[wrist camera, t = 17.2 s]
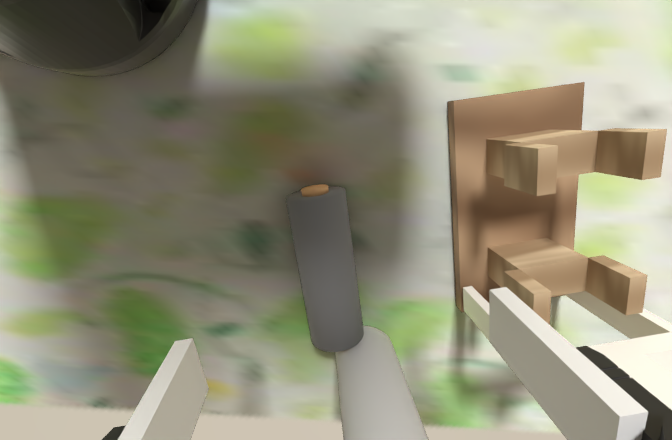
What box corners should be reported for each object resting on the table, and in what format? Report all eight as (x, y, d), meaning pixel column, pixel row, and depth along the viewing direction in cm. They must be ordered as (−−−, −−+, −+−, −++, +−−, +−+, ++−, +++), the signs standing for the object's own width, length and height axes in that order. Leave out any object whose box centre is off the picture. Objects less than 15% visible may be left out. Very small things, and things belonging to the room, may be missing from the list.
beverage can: (353, 380, 29) (382, 547, 18) (322, 341, 28) (332, 494, 16) (401, 352, 29) (463, 504, 17) (372, 310, 28) (418, 446, 16)
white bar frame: (462, 287, 26) (589, 421, 14) (573, 269, 27) (785, 386, 15) (463, 310, 27) (586, 457, 15) (571, 292, 27) (774, 422, 15)
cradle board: (447, 101, 23) (515, 91, 16) (573, 83, 24) (699, 65, 16) (456, 305, 28) (511, 375, 20) (561, 288, 28) (655, 349, 21)
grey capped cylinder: (294, 184, 25) (276, 197, 21) (348, 178, 24) (339, 191, 20) (318, 323, 28) (306, 356, 24) (366, 323, 27) (361, 357, 24)
